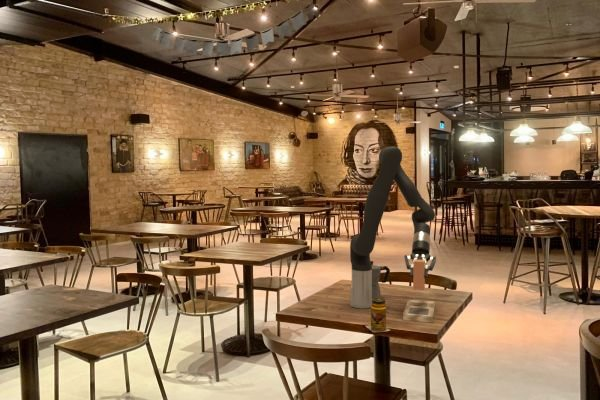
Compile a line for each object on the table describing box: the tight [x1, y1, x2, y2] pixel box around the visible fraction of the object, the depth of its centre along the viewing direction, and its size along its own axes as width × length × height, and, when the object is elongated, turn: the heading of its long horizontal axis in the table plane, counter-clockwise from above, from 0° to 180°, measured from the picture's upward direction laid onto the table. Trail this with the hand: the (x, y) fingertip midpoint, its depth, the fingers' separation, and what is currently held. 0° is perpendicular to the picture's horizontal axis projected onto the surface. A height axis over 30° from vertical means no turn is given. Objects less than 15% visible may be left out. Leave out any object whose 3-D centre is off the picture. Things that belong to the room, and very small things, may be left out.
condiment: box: [365, 298, 391, 333], centre depth 205 cm, size 7×8×12 cm
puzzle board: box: [402, 299, 436, 323], centre depth 226 cm, size 12×24×3 cm, turn 163°
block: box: [412, 260, 426, 291], centre depth 219 cm, size 4×4×12 cm
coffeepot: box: [370, 260, 391, 300], centre depth 252 cm, size 15×9×18 cm, turn 82°
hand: (418, 277), depth 217 cm, fingers closed on block, 4 cm apart
